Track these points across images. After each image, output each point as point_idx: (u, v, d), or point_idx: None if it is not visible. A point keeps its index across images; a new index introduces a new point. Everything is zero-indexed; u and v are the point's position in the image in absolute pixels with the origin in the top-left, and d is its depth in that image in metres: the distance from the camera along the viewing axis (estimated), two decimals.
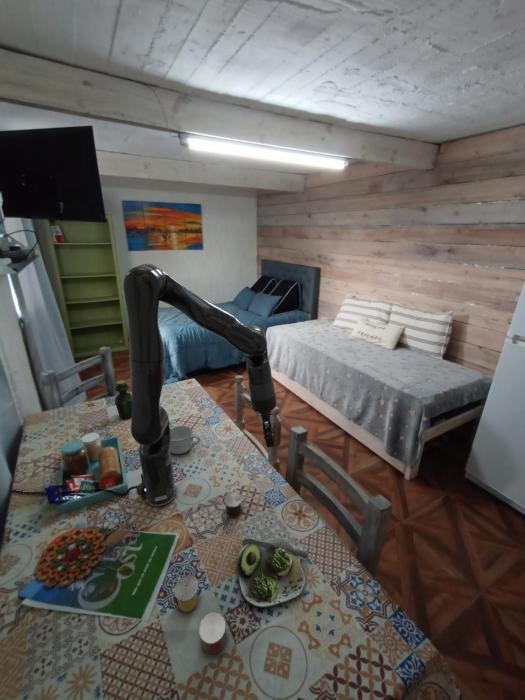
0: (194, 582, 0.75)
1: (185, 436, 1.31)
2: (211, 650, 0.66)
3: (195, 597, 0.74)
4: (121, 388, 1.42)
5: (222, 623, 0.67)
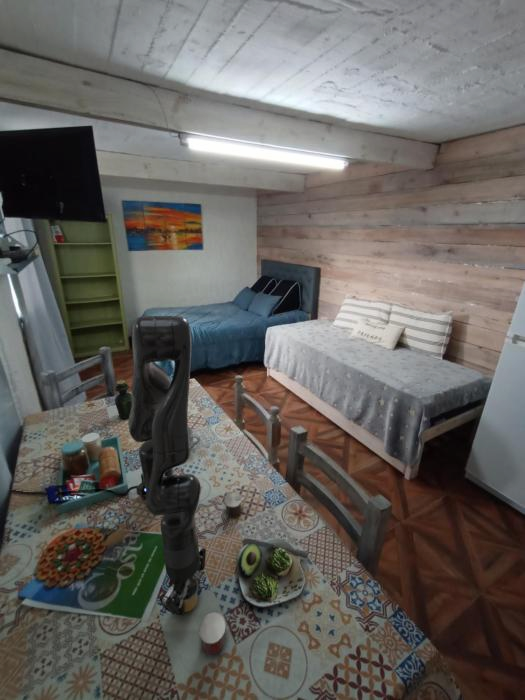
0: (194, 582, 0.75)
1: None
2: (211, 650, 0.66)
3: (195, 597, 0.74)
4: (121, 388, 1.42)
5: (222, 623, 0.67)
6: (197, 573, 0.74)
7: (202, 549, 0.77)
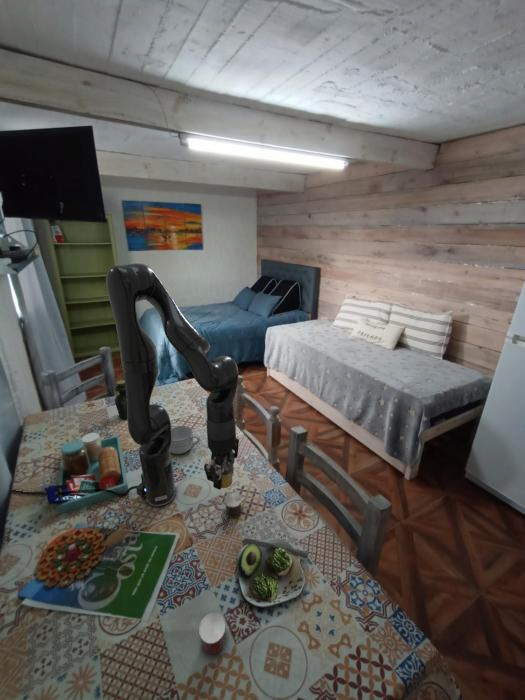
0: (230, 465, 0.88)
1: (185, 436, 1.31)
2: (211, 650, 0.66)
3: (231, 476, 0.87)
4: (121, 388, 1.42)
5: (222, 623, 0.67)
6: (232, 456, 0.87)
7: (236, 439, 0.90)
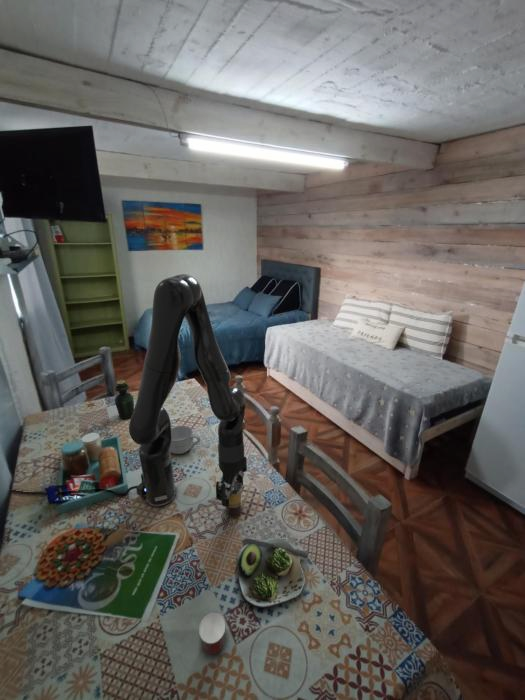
0: (239, 484, 0.97)
1: (185, 436, 1.31)
2: (211, 650, 0.66)
3: (240, 495, 0.96)
4: (121, 388, 1.42)
5: (222, 623, 0.67)
6: (241, 473, 0.97)
7: (243, 457, 0.98)
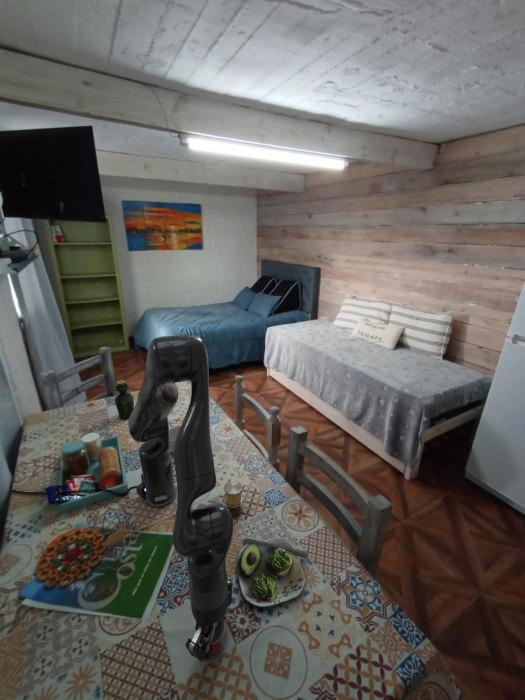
0: (239, 484, 0.97)
1: None
2: (211, 650, 0.66)
3: (240, 495, 0.96)
4: (121, 388, 1.42)
5: (222, 623, 0.67)
6: None
7: (229, 583, 0.69)
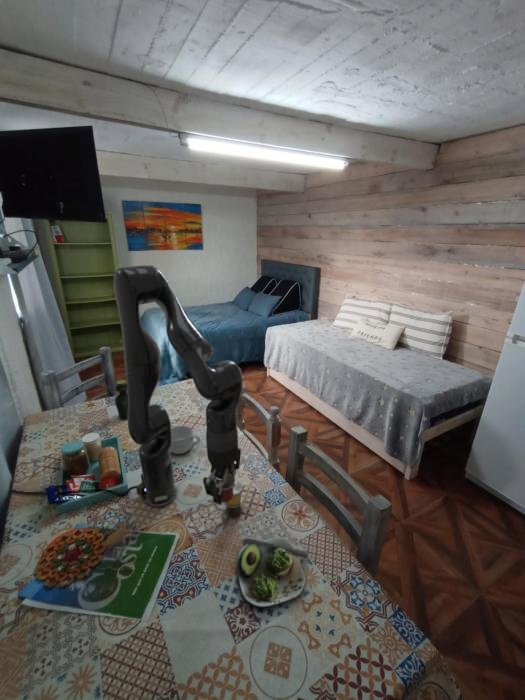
0: (239, 484, 0.97)
1: (185, 436, 1.31)
2: (223, 497, 0.80)
3: (240, 495, 0.96)
4: (121, 388, 1.42)
5: (232, 478, 0.81)
6: (234, 468, 0.81)
7: (238, 449, 0.83)
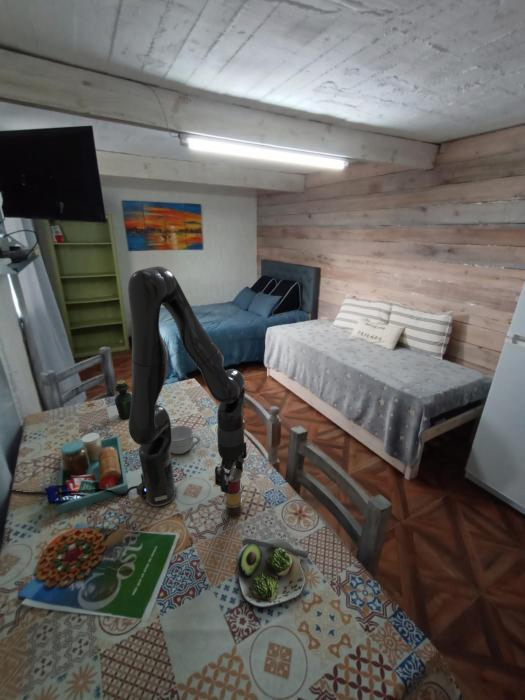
0: None
1: (185, 436, 1.31)
2: (232, 489, 0.93)
3: (240, 495, 0.96)
4: (121, 388, 1.42)
5: (239, 472, 0.95)
6: (241, 459, 0.95)
7: (243, 443, 0.96)
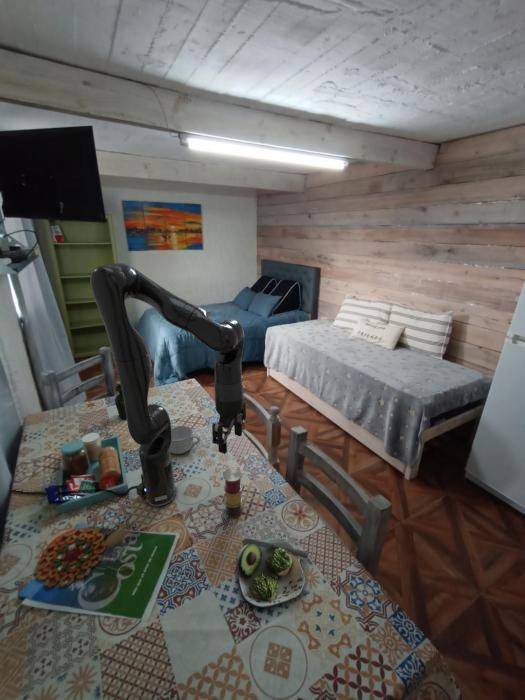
0: None
1: (185, 436, 1.31)
2: (232, 489, 0.93)
3: (240, 495, 0.96)
4: None
5: (239, 472, 0.95)
6: (240, 419, 0.90)
7: (242, 403, 0.91)
